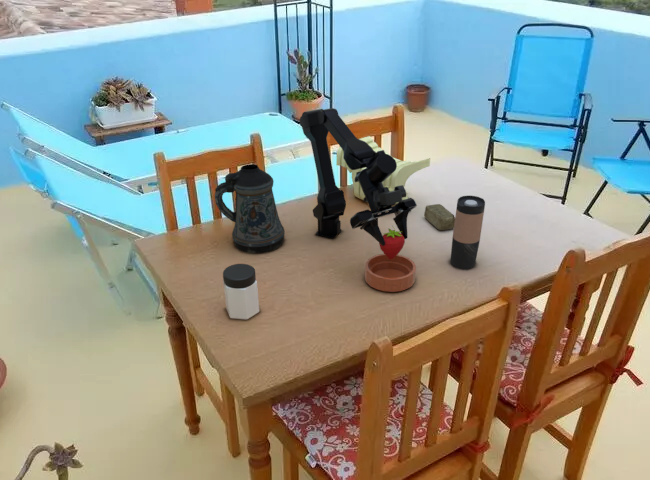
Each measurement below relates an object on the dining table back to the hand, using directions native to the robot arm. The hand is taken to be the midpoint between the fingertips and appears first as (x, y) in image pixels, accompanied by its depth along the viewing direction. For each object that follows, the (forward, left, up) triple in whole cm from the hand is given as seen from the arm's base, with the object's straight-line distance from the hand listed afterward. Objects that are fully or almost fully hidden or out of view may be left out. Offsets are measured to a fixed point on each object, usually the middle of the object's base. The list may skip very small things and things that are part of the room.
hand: (395, 241), depth 157 cm
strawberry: (-1, +1, -6) cm, 6 cm away
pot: (-1, +1, -13) cm, 13 cm away
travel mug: (+15, +19, -13) cm, 27 cm away
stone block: (+1, +41, -13) cm, 43 cm away
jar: (-30, -30, -13) cm, 45 cm away
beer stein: (-47, +3, -13) cm, 49 cm away
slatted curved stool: (-24, +51, -13) cm, 57 cm away
